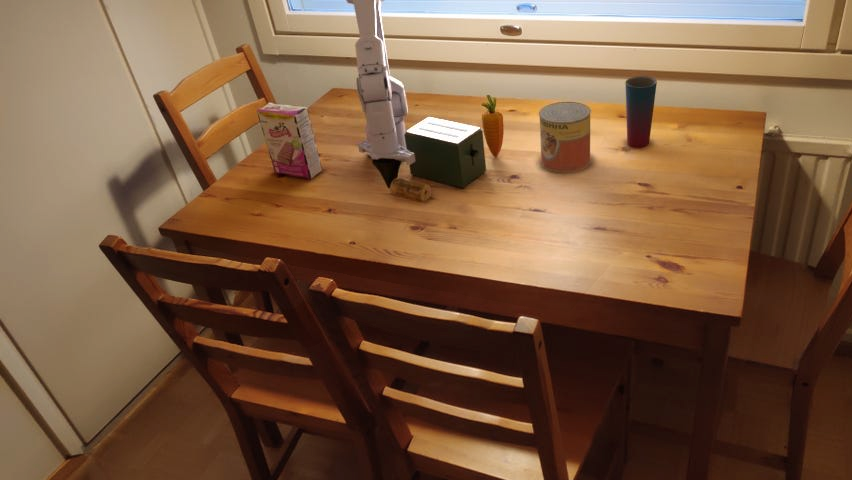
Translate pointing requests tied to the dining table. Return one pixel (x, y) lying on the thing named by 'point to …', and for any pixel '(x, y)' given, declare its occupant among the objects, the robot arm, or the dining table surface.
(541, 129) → the canned food
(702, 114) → the dining table surface
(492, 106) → the carrot
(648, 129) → the cup
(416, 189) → the tan cylinder with hole
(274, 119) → the candy bar box
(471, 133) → the toaster
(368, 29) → the robot arm
